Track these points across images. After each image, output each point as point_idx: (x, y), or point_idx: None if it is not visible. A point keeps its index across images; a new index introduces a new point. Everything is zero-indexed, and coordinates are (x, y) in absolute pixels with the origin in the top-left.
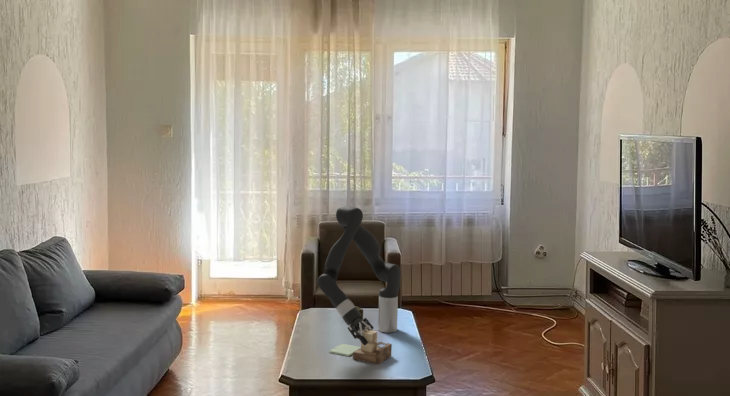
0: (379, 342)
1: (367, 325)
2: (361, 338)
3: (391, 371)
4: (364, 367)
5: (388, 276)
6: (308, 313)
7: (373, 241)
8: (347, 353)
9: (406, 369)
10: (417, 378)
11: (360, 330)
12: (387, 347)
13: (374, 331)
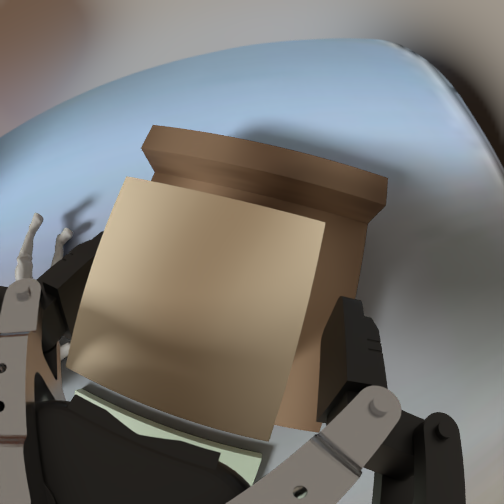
0: (24, 270)
1: (2, 360)
2: (379, 384)
3: (424, 143)
4: (437, 290)
5: None
6: None
7: None
8: (239, 472)
9: (365, 87)
10: (429, 66)
11: (350, 465)
12: (228, 141)
13: (119, 218)
